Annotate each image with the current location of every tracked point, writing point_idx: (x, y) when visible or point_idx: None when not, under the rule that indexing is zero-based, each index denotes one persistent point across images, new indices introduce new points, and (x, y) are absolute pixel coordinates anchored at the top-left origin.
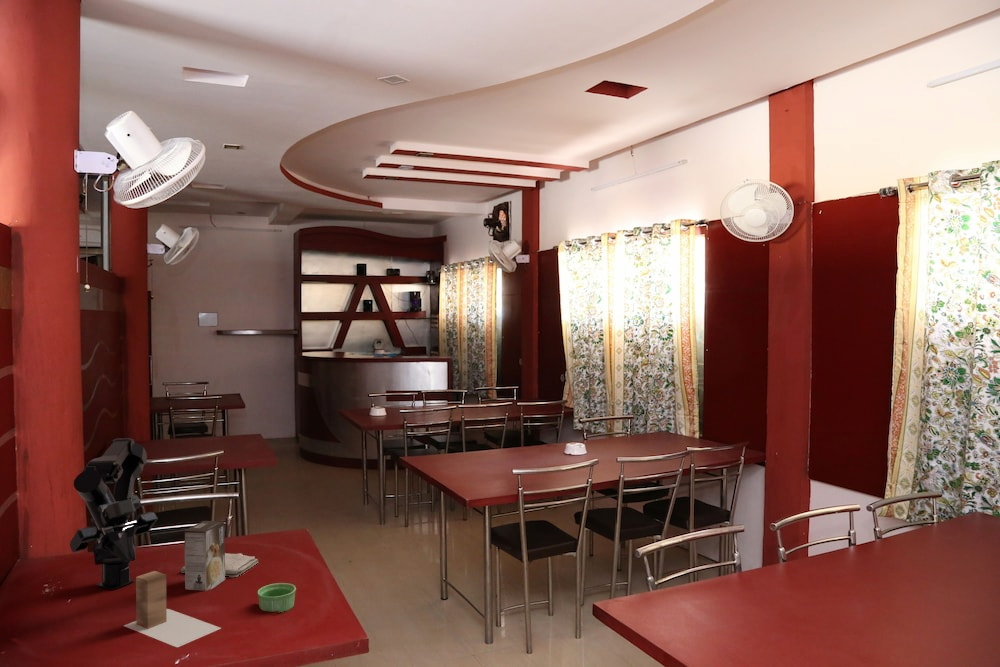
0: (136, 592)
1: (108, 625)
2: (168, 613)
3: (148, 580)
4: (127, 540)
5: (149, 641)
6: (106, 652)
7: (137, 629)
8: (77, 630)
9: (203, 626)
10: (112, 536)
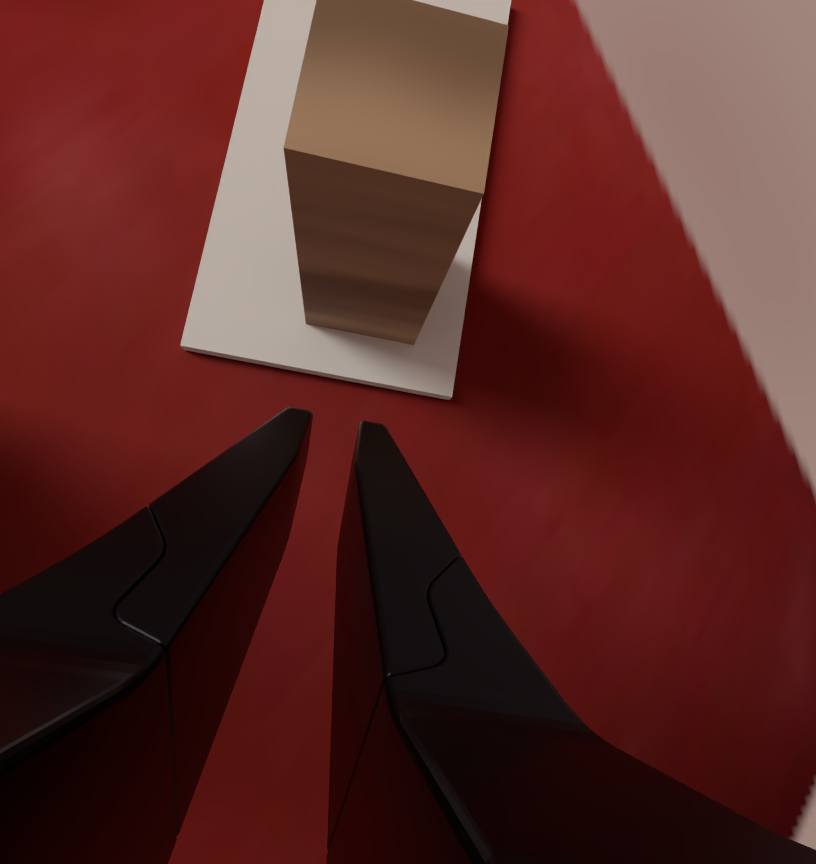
0: (451, 261)
1: (455, 509)
2: (236, 292)
3: (500, 23)
4: (191, 600)
5: (497, 171)
6: (650, 265)
7: (454, 293)
8: (565, 611)
9: (298, 19)
10: (656, 799)
